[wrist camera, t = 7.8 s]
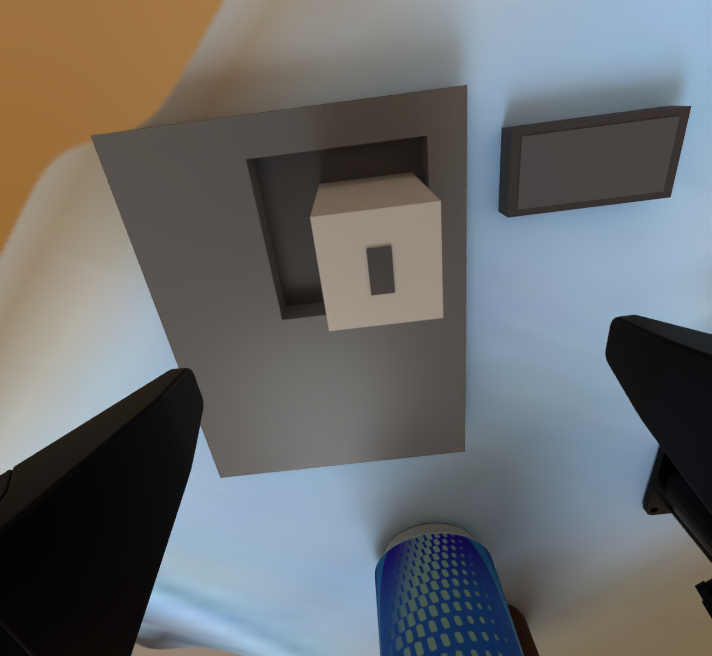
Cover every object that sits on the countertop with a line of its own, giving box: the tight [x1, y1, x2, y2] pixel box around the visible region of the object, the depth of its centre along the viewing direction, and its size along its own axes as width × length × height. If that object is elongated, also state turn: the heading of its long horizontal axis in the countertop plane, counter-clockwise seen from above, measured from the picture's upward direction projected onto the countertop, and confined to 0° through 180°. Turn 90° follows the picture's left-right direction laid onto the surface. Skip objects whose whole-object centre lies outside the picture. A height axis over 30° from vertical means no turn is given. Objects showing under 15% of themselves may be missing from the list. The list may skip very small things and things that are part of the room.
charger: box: [310, 172, 443, 331], centre depth 16 cm, size 4×4×6 cm
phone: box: [498, 106, 691, 218], centre depth 18 cm, size 4×7×1 cm, turn 96°
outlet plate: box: [91, 85, 467, 478], centre depth 21 cm, size 18×14×2 cm
